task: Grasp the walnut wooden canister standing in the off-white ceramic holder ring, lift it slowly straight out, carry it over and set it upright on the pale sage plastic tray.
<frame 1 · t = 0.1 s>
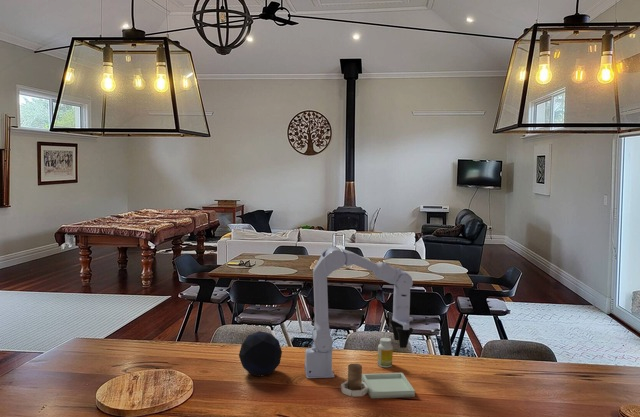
hand: (400, 343, 174), 10 cm above the table, fingers open, 7 cm apart
supplement bottle: (384, 365, 181), on the table
holder ring: (354, 390, 159), on the table
decorative orb: (260, 373, 172), on the table
walnut canister: (354, 378, 159), in the holder ring
tray: (387, 387, 162), on the table
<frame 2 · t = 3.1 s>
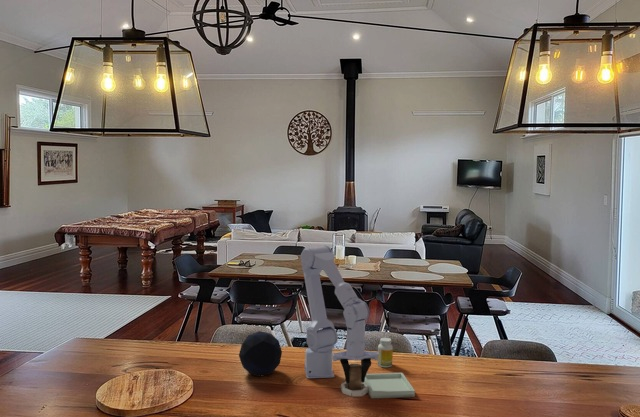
hand: (354, 381, 159), 3 cm above the table, fingers closed on walnut canister, 4 cm apart
walnut canister: (354, 378, 159), in the holder ring, touching gripper
everything else where it was.
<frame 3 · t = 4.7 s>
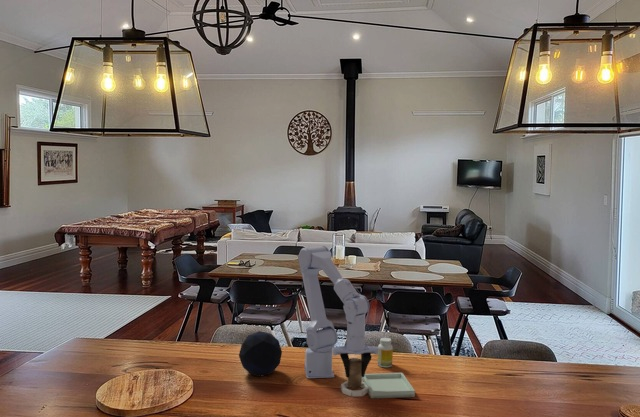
hand: (354, 376, 159), 5 cm above the table, fingers closed on walnut canister, 4 cm apart
walnut canister: (354, 372, 159), point 6 cm above the table, touching gripper
everything else where it was.
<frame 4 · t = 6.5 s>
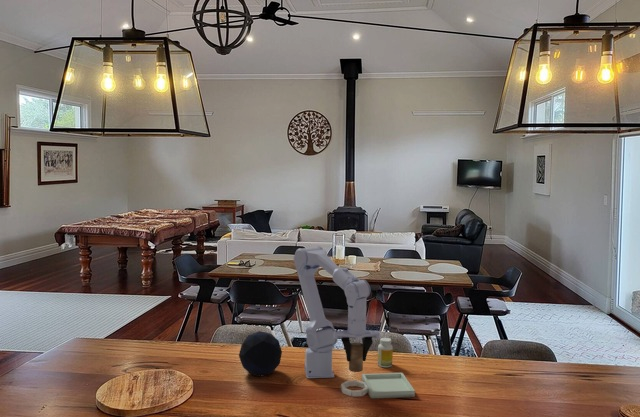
hand: (356, 360, 159), 10 cm above the table, fingers closed on walnut canister, 4 cm apart
walnut canister: (356, 357, 158), point 11 cm above the table, touching gripper
everything else where it was.
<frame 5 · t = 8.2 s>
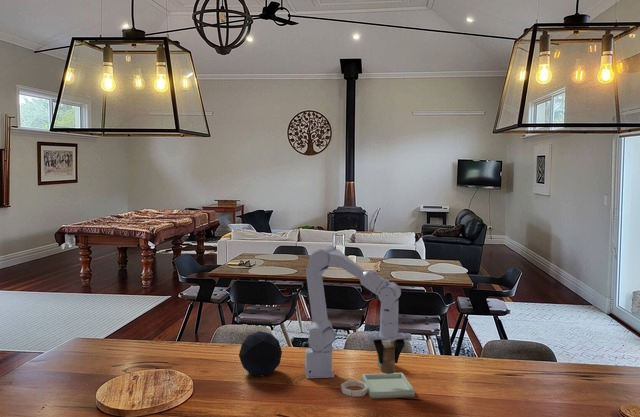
hand: (388, 362, 161), 9 cm above the table, fingers closed on walnut canister, 4 cm apart
walnut canister: (388, 359, 161), point 10 cm above the table, touching gripper
everything else where it was.
when the fingers open (4 cm above the table, at t = 9.9 s): walnut canister stays where it is, resting on tray.
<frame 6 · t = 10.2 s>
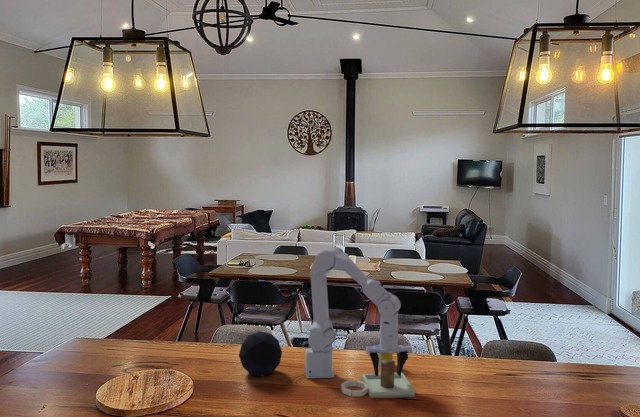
hand: (387, 374, 161), 4 cm above the table, fingers open, 7 cm apart
walnut canister: (387, 373, 161), in the tray, point 5 cm above the table
everything else where it was.
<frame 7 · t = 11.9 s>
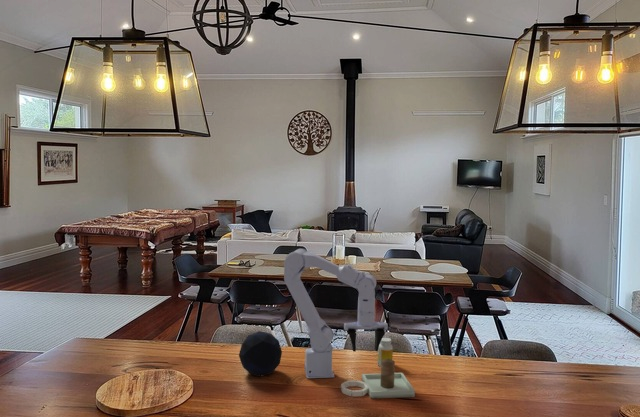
hand: (365, 350, 168), 10 cm above the table, fingers open, 7 cm apart
nothing on the table moved.
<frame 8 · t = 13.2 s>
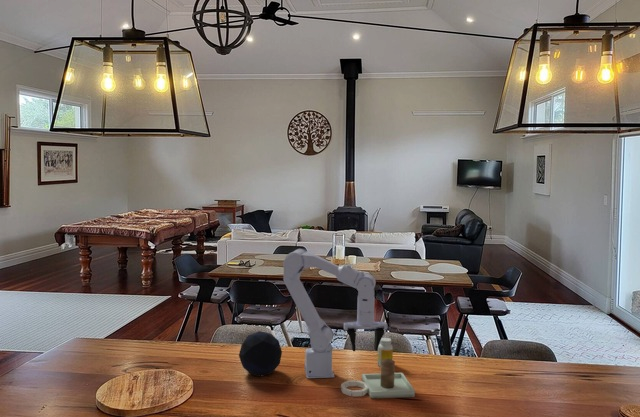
hand: (364, 349, 168), 10 cm above the table, fingers open, 7 cm apart
nothing on the table moved.
at the end: walnut canister inside the target area on the tray (0.0 cm from its centre), point 4.8 cm above the tray's base; walnut canister tilted 0°; the gripper is holding nothing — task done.
